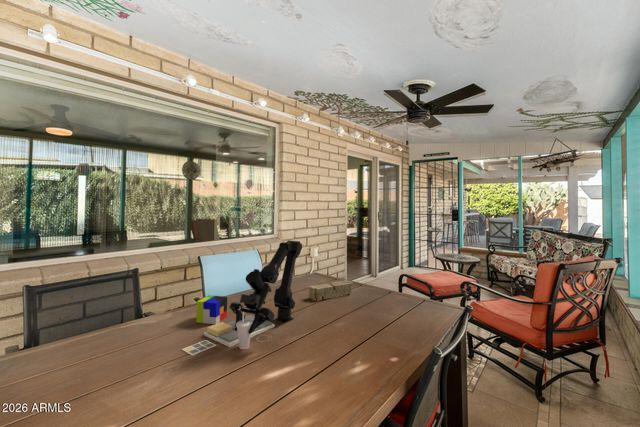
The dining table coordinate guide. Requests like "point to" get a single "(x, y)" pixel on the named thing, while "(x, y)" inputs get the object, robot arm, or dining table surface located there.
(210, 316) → the puzzle toy
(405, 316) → the dining table surface
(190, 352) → the pattern card
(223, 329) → the amber button
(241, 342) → the smoothie
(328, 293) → the tan stone block
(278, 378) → the dining table surface
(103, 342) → the dining table surface
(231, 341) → the button board
